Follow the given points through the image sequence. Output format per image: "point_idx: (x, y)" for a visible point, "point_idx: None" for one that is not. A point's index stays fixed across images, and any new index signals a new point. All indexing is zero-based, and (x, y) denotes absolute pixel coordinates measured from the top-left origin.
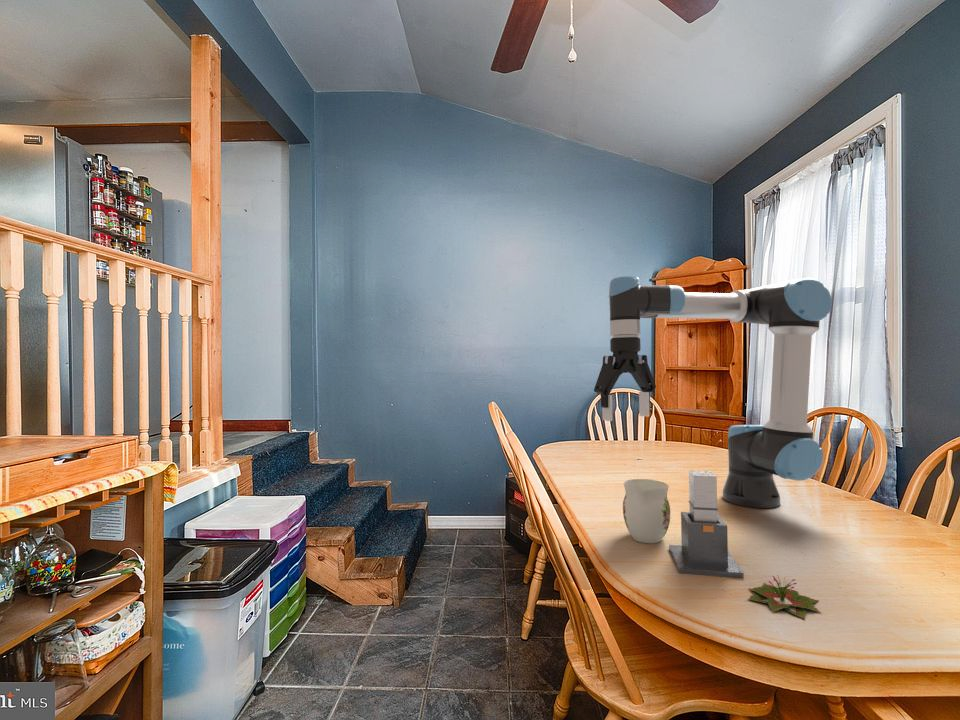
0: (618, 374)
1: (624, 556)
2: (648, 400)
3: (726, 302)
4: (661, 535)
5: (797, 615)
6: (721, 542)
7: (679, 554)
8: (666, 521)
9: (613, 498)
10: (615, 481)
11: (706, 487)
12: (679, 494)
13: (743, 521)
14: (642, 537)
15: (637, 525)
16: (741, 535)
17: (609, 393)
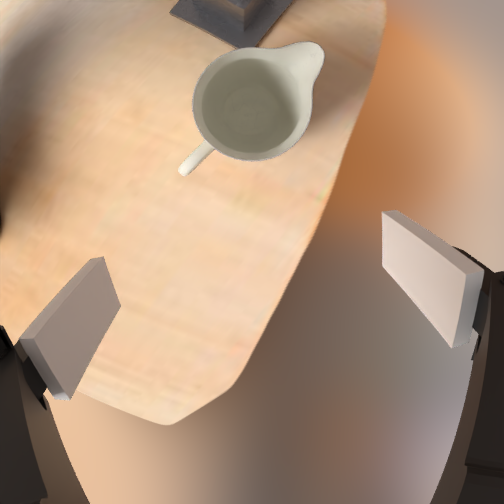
0: (494, 456)
1: (339, 68)
2: (52, 304)
3: None
4: (245, 74)
5: None
6: None
7: (263, 19)
8: (237, 63)
9: (167, 316)
10: (115, 383)
11: None
12: (45, 284)
13: (35, 126)
14: (277, 90)
15: (291, 89)
16: (85, 69)
17: (493, 279)
